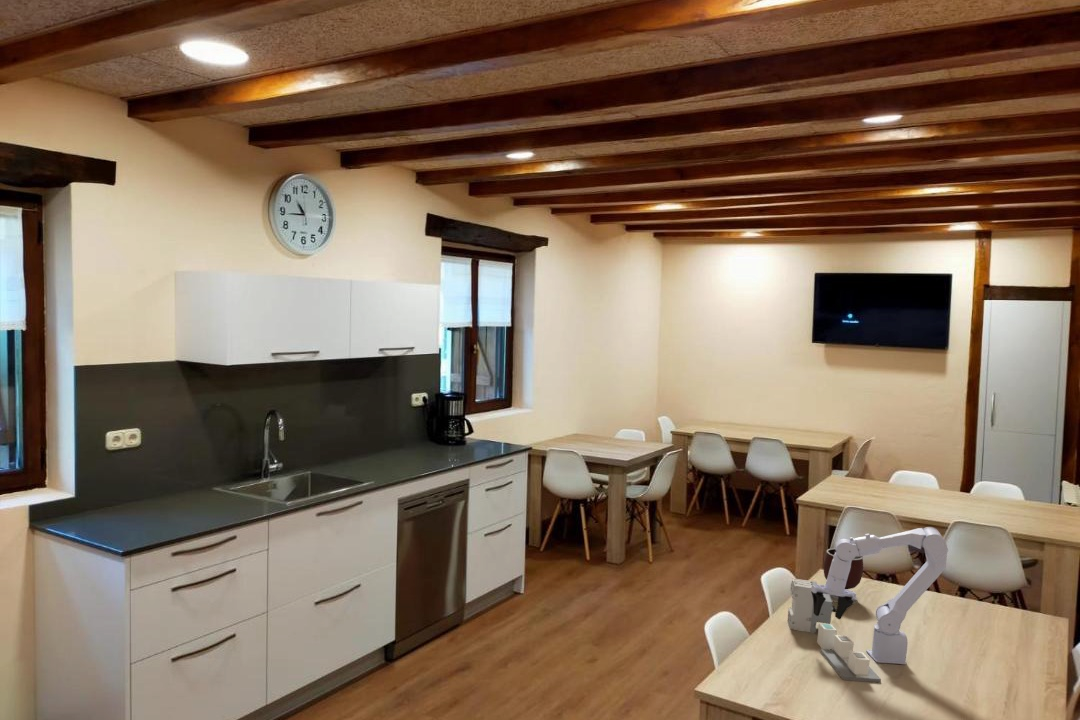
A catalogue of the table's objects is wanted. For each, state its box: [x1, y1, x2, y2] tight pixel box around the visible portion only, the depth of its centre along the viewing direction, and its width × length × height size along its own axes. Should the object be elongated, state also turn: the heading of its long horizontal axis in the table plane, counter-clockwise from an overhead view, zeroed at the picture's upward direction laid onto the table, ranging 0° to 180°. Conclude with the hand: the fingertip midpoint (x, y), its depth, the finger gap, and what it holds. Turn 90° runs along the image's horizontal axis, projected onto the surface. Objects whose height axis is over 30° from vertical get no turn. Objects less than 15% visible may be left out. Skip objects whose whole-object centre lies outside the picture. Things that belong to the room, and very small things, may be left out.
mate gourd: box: [822, 547, 864, 605], centre depth 293 cm, size 16×14×20 cm
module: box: [816, 622, 838, 650], centre depth 249 cm, size 4×4×7 cm
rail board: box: [820, 634, 882, 683], centre depth 235 cm, size 11×18×6 cm, turn 0°
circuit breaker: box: [787, 578, 837, 634], centre depth 263 cm, size 8×14×15 cm, turn 78°
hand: (826, 616), depth 248 cm, fingers open, 7 cm apart
